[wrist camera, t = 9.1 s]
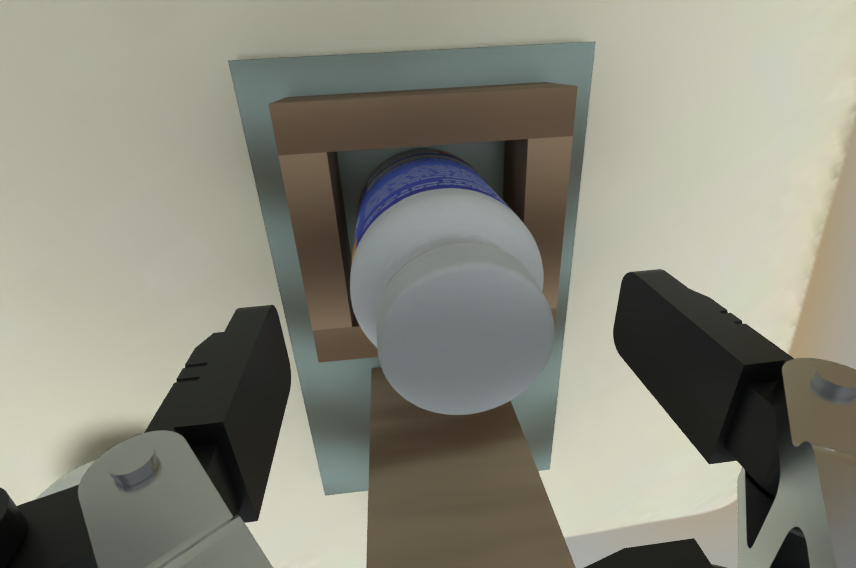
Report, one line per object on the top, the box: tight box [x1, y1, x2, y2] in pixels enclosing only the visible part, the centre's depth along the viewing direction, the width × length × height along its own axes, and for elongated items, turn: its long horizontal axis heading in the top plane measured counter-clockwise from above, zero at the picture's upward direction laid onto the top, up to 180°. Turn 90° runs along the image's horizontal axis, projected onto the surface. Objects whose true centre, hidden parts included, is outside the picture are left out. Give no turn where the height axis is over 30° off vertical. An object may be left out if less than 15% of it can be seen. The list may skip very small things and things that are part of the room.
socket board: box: [228, 42, 595, 568], centre depth 16 cm, size 22×13×13 cm, turn 3°
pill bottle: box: [350, 149, 554, 415], centre depth 14 cm, size 5×5×10 cm
